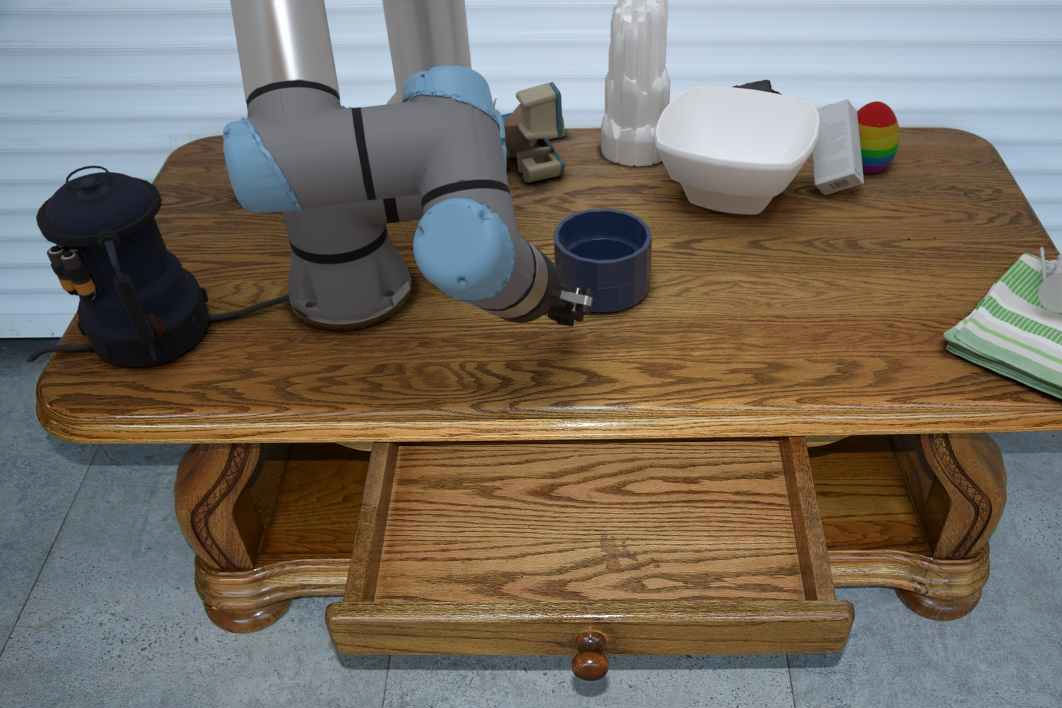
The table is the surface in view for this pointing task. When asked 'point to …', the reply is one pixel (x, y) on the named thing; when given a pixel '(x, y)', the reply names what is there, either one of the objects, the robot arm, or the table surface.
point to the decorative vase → (635, 82)
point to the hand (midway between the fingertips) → (569, 314)
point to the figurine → (1051, 284)
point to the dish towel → (1014, 330)
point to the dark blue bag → (122, 269)
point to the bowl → (735, 145)
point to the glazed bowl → (605, 256)
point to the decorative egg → (877, 136)
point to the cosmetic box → (838, 149)
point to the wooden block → (516, 132)
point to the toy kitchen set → (539, 132)
